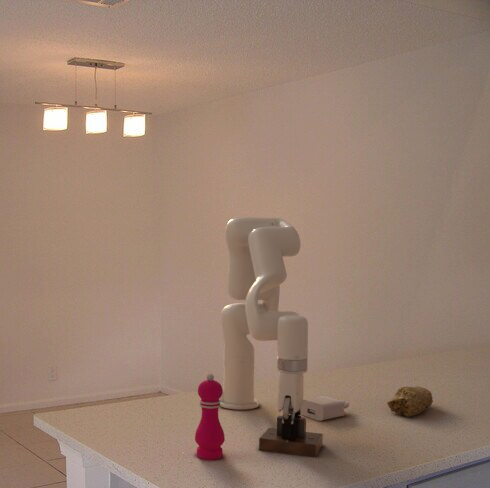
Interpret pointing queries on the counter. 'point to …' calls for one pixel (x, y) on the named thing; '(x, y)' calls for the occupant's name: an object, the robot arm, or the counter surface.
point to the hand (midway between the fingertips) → (291, 434)
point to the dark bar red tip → (299, 426)
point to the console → (291, 443)
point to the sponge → (410, 401)
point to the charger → (323, 408)
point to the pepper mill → (209, 420)
